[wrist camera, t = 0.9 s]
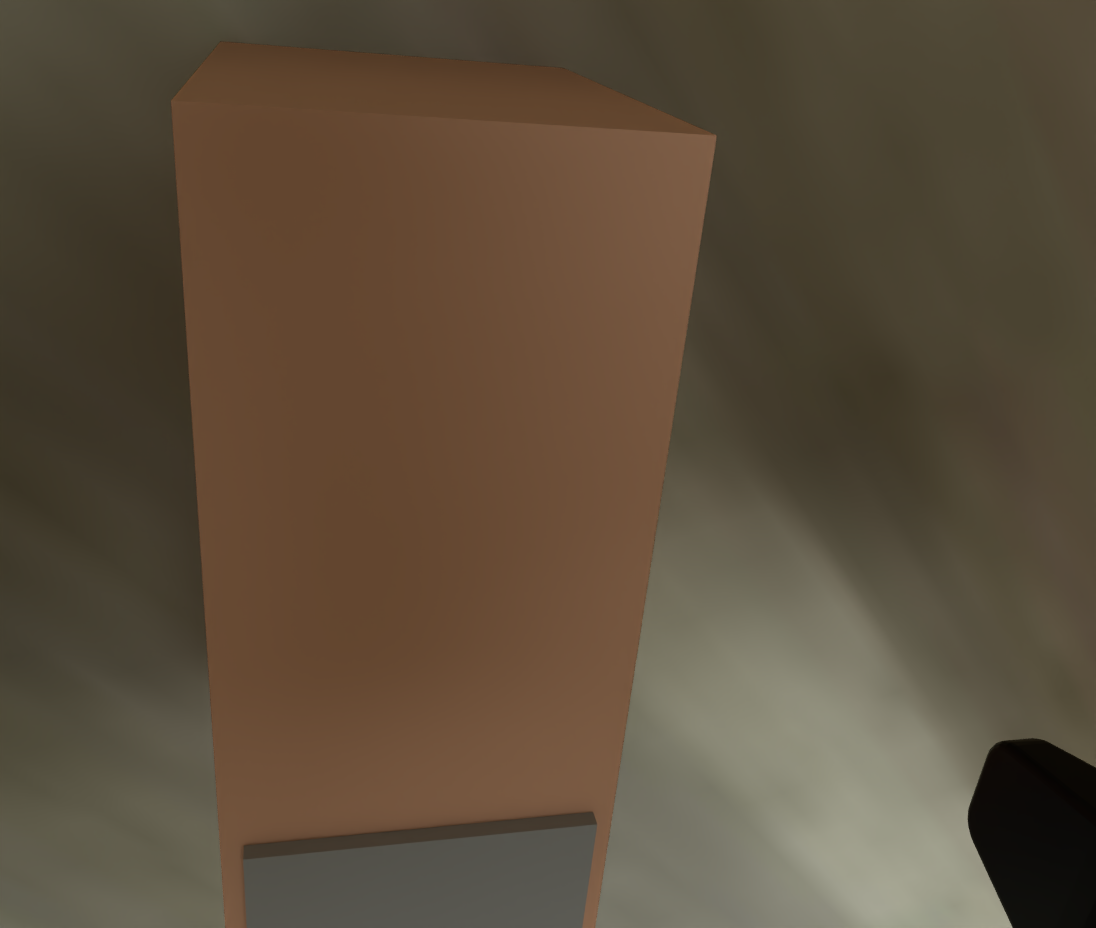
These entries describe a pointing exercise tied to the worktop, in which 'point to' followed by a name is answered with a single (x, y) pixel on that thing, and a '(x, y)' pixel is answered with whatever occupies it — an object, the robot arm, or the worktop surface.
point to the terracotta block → (426, 469)
